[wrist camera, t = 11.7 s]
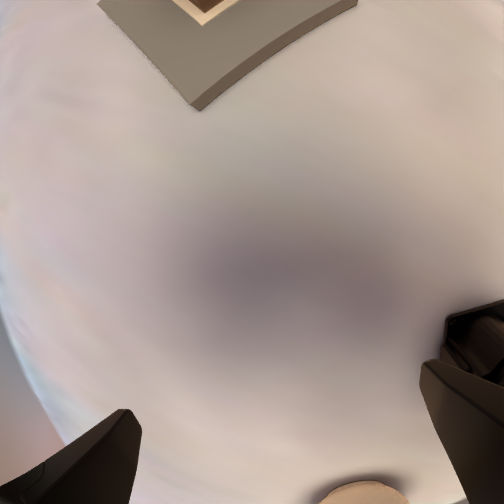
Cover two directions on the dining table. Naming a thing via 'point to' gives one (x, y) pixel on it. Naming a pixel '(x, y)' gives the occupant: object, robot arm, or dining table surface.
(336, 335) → the dining table surface
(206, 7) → the walnut pillar
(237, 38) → the foundation slab
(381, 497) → the lidded bowl
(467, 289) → the dining table surface
